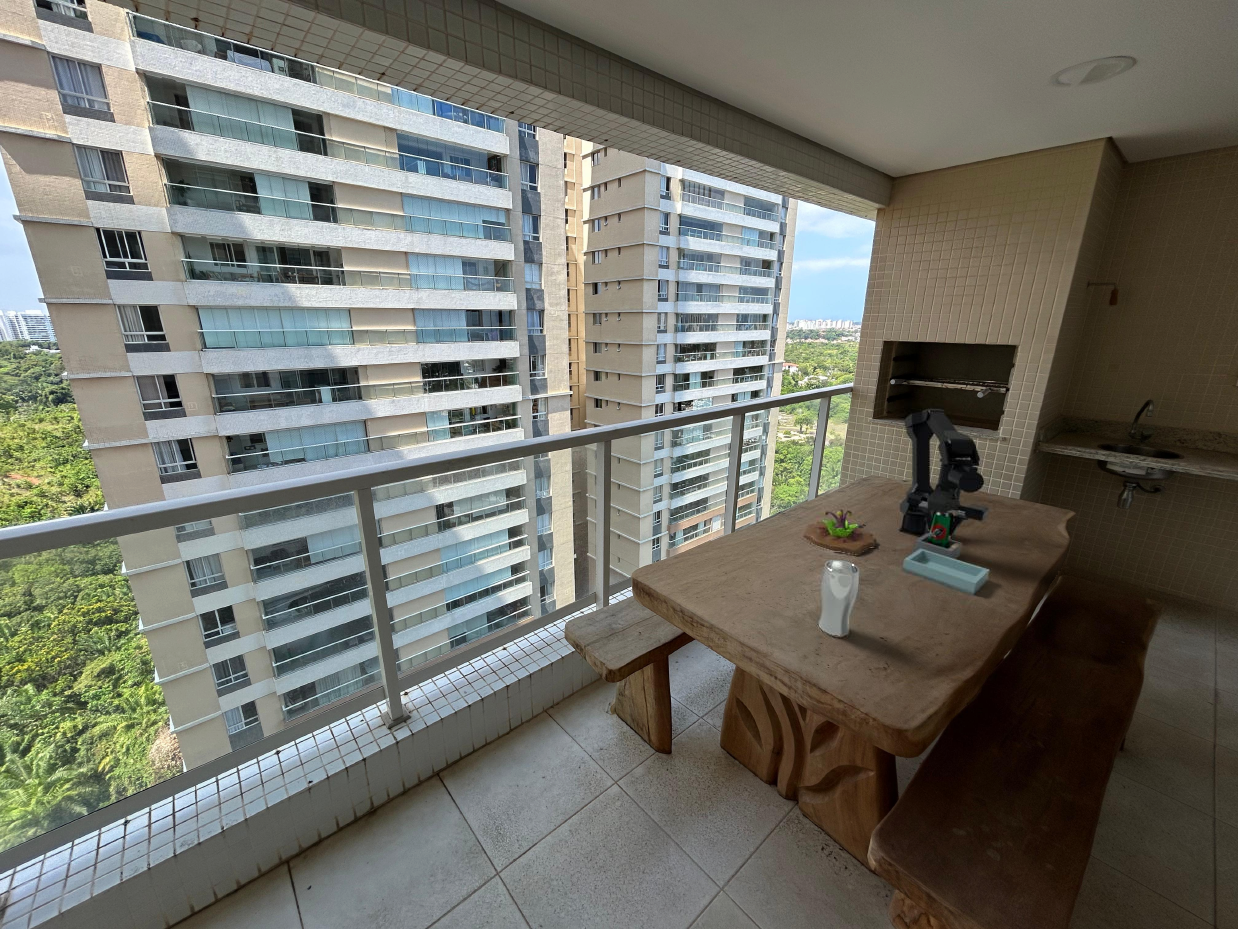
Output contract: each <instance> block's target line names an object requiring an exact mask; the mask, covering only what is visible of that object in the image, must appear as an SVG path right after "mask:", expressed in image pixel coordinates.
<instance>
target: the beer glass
mask: <svg viewBox="0 0 1238 929" xmlns="http://www.w3.org/2000/svg"><path fill="white" fill-rule="evenodd" d="M859 579H860V568H859V567H858V566H857V565H855V564H854V563H851V562H849V561H846V560H841V559H829V560H827V561H826V562H825V563H824V567H823V571H822V577H821V584H820V590H821V591H820V594H821V615H820V619H819V621H818V624H819V627H820V628H821V629H822V630H823V631H825V632H827V633H829V634H832V635H838V636H840V635H847V634H848V633H849V634H850V624H849V621H850V620H849V619H850V615H851V612H852V610H853V607H854V605H855V603H856V602H855V601H856V600H857V595H858V591H859V582H860V581H859ZM819 627H818V628H819ZM849 634H848V635H849ZM848 635H847V636H848Z"/></svg>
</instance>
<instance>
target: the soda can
mask: <svg viewBox="0 0 1238 929" xmlns="http://www.w3.org/2000/svg"><path fill="white" fill-rule="evenodd" d="M955 515H956V514H955V510H948V512H947V513H940V512H937V511H934V512H933V517H932V522H931V527H930V530H929V538H928V543H929V544H933V545H936V546H939V547H943V548H946V549H948V547H949V542H950V540H951V537H952V536H950V531H951V528H952V525H953V522H954V516H955Z"/></svg>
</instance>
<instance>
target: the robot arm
mask: <svg viewBox="0 0 1238 929" xmlns="http://www.w3.org/2000/svg"><path fill="white" fill-rule="evenodd" d="M904 426H905V430H906V432H905V433H906V435H907V436H908V438H909V439H910V440H911V444H912V445H911V448H912V451H911V452H912V454H911V456H912V458H911V459H912V461H911V462H912V466H911V467H912V469H911V472H912V473H911V474H912V476H911V478H912V479H911V481H912V483H911V486H910V487H909V488H908V490H907V491H906V493H905V495H906V496H905V498H904V499H903V500H902V501H901V502H900V503H899V511H900V512H901V514H902V516H903V517H902V522H901V527H899V528H898V531H900V532H903V533H907V534H909V535H913V536H915V537H916V536H917V537H922V536H923V535H925V534H927V533H928V531H930V527H931V522H932V517H933V512H934V511H937V512H940V513H947V512H948V510H953V511H954V512H955V511H957V514H954V515H955V516H954V522H953V525H952V528H951V531H950V536H951V537H952V536H953V535H954V534H955V533H956V531H957V530H958V529H959V527H960V526H961V524H962V523H963V522H964V521H967V520H969V519H971V520H974V521H978V522H981V521H982V522H983V521H984V520H985V519H987V518H988V517H989V513H990V509H989V508H988V506H985V505H981V504H977V503H971V504H970V505H963V504H960V503H961V495H962V491H963V492H964V493H967V494H968V493H969V494H972V493H976V492H978V491H980V490H981V489H982V488H983V486H984V484H985V479H984V477H983V475H982V474H981V473H979V471H978V470H979V466H980V460H981V458H980V454H979V452H978V449H977V444H976V443H975V441H974V440H973V439H972V438H971V437H970V436H969V435H967V434H965V433H962V432H960V431H958V430H957V428H956V427H955V426H954V425H953V423H951V421H950V420H949V418H948V417H947V415H946V412H945V410H943V409H941V408H927V409H924V410H922V411H918V412H915V413H910V414H909V415H908V416H907V417H906V418H905V420H904ZM934 435H935V437H936V439H938V441H939V444H938V446H937V449H938V452H939V454H940V456H941V458H940V459H939V461H938V462H940V463H941V464H940V469H939V474H938V479H937V483H936V485H935V488H933V487H932V486H931V439H932V438H933V437H934Z"/></svg>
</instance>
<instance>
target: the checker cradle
mask: <svg viewBox="0 0 1238 929" xmlns="http://www.w3.org/2000/svg"><path fill="white" fill-rule="evenodd" d="M929 533H930V532H929ZM929 533H928V532H927V533H925V534H924V535H922V536H919V537H918V538H917V539H916V540H914V541H915V542H914V547H913V552H912V554H913V553H914V552H916V551H917V550H919V549H924V550H927V551H930V552H933V553H937V554H940V555H943V556H946V557H949V558H953V559H956V560H957V558H958V557H960V555H961V551H962V547H963V542H961V541H957V540H953V539H950V542H949V547H948V548H949V549H946V548H943V547H939V546H936V545H933V544H929V543H928V538H929Z"/></svg>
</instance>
